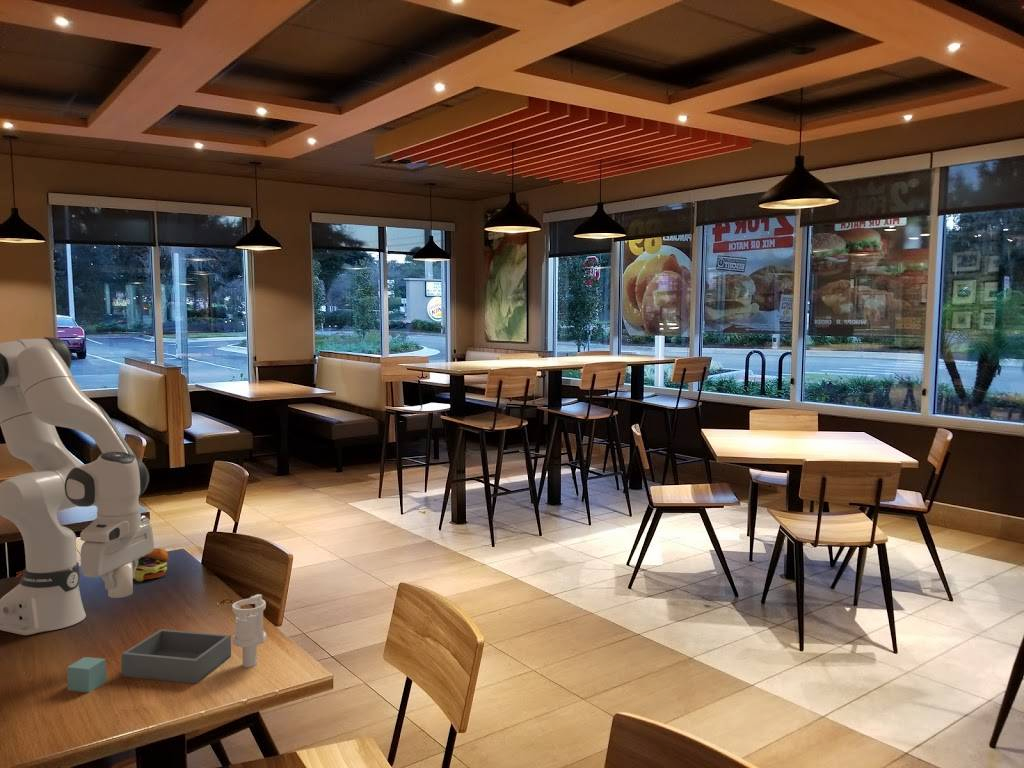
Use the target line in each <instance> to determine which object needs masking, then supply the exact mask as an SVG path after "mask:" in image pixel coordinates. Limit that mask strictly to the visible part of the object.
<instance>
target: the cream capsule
mask: <svg viewBox="0 0 1024 768" xmlns="http://www.w3.org/2000/svg"><path fill="white" fill-rule="evenodd" d="M111 576H112V578H113V580H116V587H115V588H113V589H111V590H107V594H108V597H109V598H111V599H121V598H124V597H125V598H126V597H129V596H131V595H133V593H134V587H133V586H134V581H133V580H134V579H133V574H132V562H130V563H128V564H125V565H123V566H121V567H119V568H117V569H115V570H113V575H111Z"/></svg>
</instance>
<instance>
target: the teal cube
mask: <svg viewBox="0 0 1024 768" xmlns="http://www.w3.org/2000/svg"><path fill="white" fill-rule="evenodd" d="M106 665H107V661H106V658H101V657H100V658H99V657H88V656H84V657H82V658H80V659H79V660H77V661H76V662H73V663H72V664H69V666H67V667H66V671H67V691H73V692H81V693H91V692H92V691H94V690H95V689H97V688H99V687H100V686H101V685H103V684H105V683H106V682H107V666H106Z"/></svg>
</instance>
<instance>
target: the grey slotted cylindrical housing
mask: <svg viewBox="0 0 1024 768" xmlns="http://www.w3.org/2000/svg"><path fill="white" fill-rule="evenodd" d="M245 605H246V606H247V605H254V607H253V608H241V606H245ZM266 605H267V603H266V600H264V599H263V594H259V593H258V594H255V595H251V596H250V597H249V598H243V599H241V600H238V601H235V602H233V604H232V605H231V606H232V607H231V608H232V609H231V610H232V613H233V614H235V633H234V635H233V636H232V644H233V645H234V646H236V647H240V648H241V647H242V667H244V668H254V667H256V666H257V665H258V646H259V645H261V644H264V642H265V641H267V632H266V631H265V630H264V611H265V609H266V607H267V606H266Z"/></svg>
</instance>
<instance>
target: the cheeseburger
mask: <svg viewBox="0 0 1024 768" xmlns="http://www.w3.org/2000/svg"><path fill="white" fill-rule="evenodd" d="M170 560H171V558H169V553H168V552H167V550H166V549H164V548H155V547H154V548H153V551H152V552H151V553H149V554H147V555H145V556H143V557H141V558H139V559H138V565H137V568H136V570H135V578H134V579H133V580H134V581H136V582H143V581H144V580H145V581H146V580H150V579H151V580H152V579H156V578H162V577H163V576H165V575H166V572H167V569H168V567H167V566H168V562H167V561H170Z"/></svg>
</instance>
